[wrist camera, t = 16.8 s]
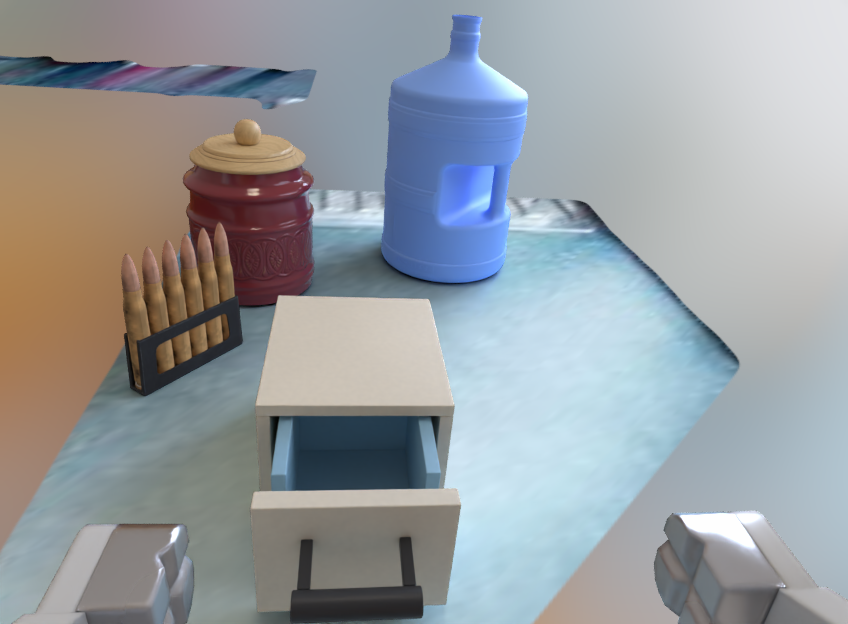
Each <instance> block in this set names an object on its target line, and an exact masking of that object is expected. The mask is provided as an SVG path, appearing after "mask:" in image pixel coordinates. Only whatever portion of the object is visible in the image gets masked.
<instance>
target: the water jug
mask: <svg viewBox="0 0 848 624" xmlns="http://www.w3.org/2000/svg"><path fill="white" fill-rule="evenodd" d="M452 19H453V30H452V31H451V45H450V51H449V53H448V55H447V56H446V57H445V58H443V59H440V60H438V61H436V62H433V63H432V64H429V65H426V66H424V67H422V68H419V69H417V70H415V71H412V72H410V73H408V74H405V75H403V76H401V77H399V78H397V79H395V80H394V81H393V82H392V85H391V96H390V99H389V111H388V120H389V135H388V153H387V168H386V172H385V209H384V228H383V234H382V243H381V250H382V254H383V256H384V258H385V259H386V261H387V262H388V263H389V264H390V265H391V266H393V267H394V268H396V269H397V270H399V271H401V272H403V273H405V274H407V275H410V276H413V277H416V278H419V279H424V280H428V281H434V282H443V283H464V282H472V281H477V280H481V279H484V278H487V277H489V276H491V275H493V274H495V273H496V272H497V271H498V270H499V269H500V268H501V267H502V266H503V264H504V261H505V255H506V240H507V234H508V227H509V221H510V210H509V208H508V207H507V205H506V204H505V203H506V196H507V189H508V183H509V176H510V169H511V165H512V163H513V162H514V160H516V159H517V158H518V157H519V155H520V149H521V143H522V136H523V134H524V130H525V126H526V120H527V104H528V95H527V93H526V92H525V91H524V90H523V89H521V88H520V87H518V86H517V85H516V84H514V83H513V82H511V81H510V80H508V79H507V78H505V77H504V76H502V75H501V74H499V73H498V72H496V71H495V70H493V69H492V68H491V67H489V66H487V65H486V64H485V63H483V62H482V61H481V60H480V59H479V56H478V44H479V40H480V33H479V29H480V23H481V22H482V17H477V16H468V15H452ZM493 173H494V175H493ZM492 180H493V183H492Z"/></svg>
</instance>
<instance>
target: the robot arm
mask: <svg viewBox="0 0 848 624" xmlns="http://www.w3.org/2000/svg"><path fill="white" fill-rule="evenodd" d="M664 532H665V534H666V535H667V537H668V540H667V541H666V542H665V543H664V544H663V545H662V546H660V547H659V548H658V550H657V554H656V558H655V561H654V570H655V581H656V584H657V588H658V591H659V594H660V596H661V598H662V600H663V602H664V604H665V606H666V607H668V608H669V609H670V610H671V611H673V612H674V613H675V614H677V615H678V616H679V620H678V624H848V600H847V599H845V598H844V597H842V596H840V595H839V594H837V593H836V592H834V591H833V590H831V589H829V588H828V587H818V586H817V584H816V583H815V582H814V580H813V579H812V578H811V577H810V575H809V574H808V573H807V571H806V570H805V569H804V568H803V566H802V565H801V563H800V562H799V561H798V560H797V558H796V557H795V556H794V554H793V553H792V552H791V550H790V549H789V548H788V547H787V545H786V544H785V543H784V541H783V540H782V539H781V537H780V536H779V535H778V534H777V532H776V531H775V529H774V528H773V527H772V526H771V524H770V523H769V522H768V520H767V519H766V518H765V517H764V516H763V515H762V514H761V513H759V512H757V511H733V512H700V513H672V514H671V515H670V517H669V518H668V519H667V521H666V524H665V527H664ZM188 543H189V537H188V532H187V527H186V526H185V525H183V524H119V525H118V524H87V525H85V526H84V527H83V528H82V529H81V530H80V531H79V532H78V533H77V535H76V537H75V539H74V541H73V543H72V545H71V546H70V548H69V550H68V552H67V554H66V556H65V558H64V559H63V561H62V563H61V565H60V567H59V569H58V571H57V573H56V574H55V576H54V578H53V580H52V582H51V584H50V586H49V587H48V589H47V591H46V593H45V595H44V597H43V599H42V601H41V602H40V604H39V606H38V608H37V610H36V612H35V614H24V615H22V616H21V617H20V618H18V619H17V620H16V621H14V622H13V623H12V624H186V623H187V620H188V617H189V613H190V609H191V605H192V598H193V591H194V569H193V562H192V560H191V559H190V558H188V557H187V556H186V555H185V553H186V550H187V547H188Z"/></svg>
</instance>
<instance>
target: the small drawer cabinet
mask: <svg viewBox="0 0 848 624" xmlns="http://www.w3.org/2000/svg"><path fill="white" fill-rule="evenodd" d="M454 407H455V406H454V401H453V397H452V393H451V389H450V384H449V380H448V376H447V372H446V368H445V363H444V359H443V355H442V351H441V346H440V342H439V338H438V334H437V330H436V325H435V321H434V317H433V313H432V308H431V304H430V300H429V299H406V298H364V297H323V296H281V295H279V296H278V299H277V303H276V308H275V313H274V318H273V323H272V327H271V332H270V337H269V342H268V346H267V351H266V356H265V361H264V365H263V370H262V375H261V380H260V385H259V389H258V394H257V399H256V404H255V413H256V430H257V447H258V464H259V481H260V491H271V470H272V463H273V456H274V450H275V443H276V436H277V430H278V423H279V417H280V416H431V421H432V426H433V432H434V438H435V443H436V449H437V454H438V460H439V466H440V471H441V476H440V484H439V489H444V483H445V476H446V468H447V460H448V453H449V445H450V437H451V430H452V422H453V415H454Z"/></svg>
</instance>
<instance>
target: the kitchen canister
mask: <svg viewBox="0 0 848 624" xmlns="http://www.w3.org/2000/svg"><path fill="white" fill-rule="evenodd" d="M305 159H306V157H305V154H304V153H303V152H302V151H300V150H299V149H297V148H296V147H294V146H292V145H291V143H290V142H289V141H287V140H285V139H283V138H280V137H276V136H271V135H264V134H261V130H260V127H259V125H258V124H257V123H256V122H255V121H253V120H249V119H244V120H240V121H239V122H237V124H236V125H235V128H234V134H224V135H218V136H214V137H211V138H209V139H207V140H206V141H204V143H203V144H202V145H200V146H198V147H197V148H195V149H194V150H192V151H191V153H190V160H191V161H192V162H193V163H194V164H195V165H194V167H193V168H191V169H190V170H188V171H187V172H186V173H185V175H184V177H183V183H184V185H185V186H186V187H187V189H189V190H190V203H189V205H188V206H187V210H186V213H187V216H188V217H189V225H190V234H191V243H192V246H193V249H194V253H195V257H196V265H197V270H198V238H199V234H200V231H201V229H202V228H204V229H205V231H206V232H207V234H208V237H209V240H210V243H211V247H212V253H213V260H214V236H215V230H216V226H217V224H218V223H221V224H222V226H223V228H224V231H225V233H226V237H227V242H228V249H229V255H230V262H231V266H232V269H233V281H234V294H235V295H237V296H238V301H239V305H266V304H273V303H277V299H278V296H279V295H281V296H298V295H299V294H301V293H303V292H304V291H305V290H306V289H307V288H308V287H309V286H310V284H311V281H312V275H313V273H314V258H313V255H312V216H313V214H314V208H313V206H312V204H311V203H310V202H309V189H310V188H311V187H312V186H313V184H314V178H313V176H312V175H311V174H310V173H309V172H308V171H307V170H306V169H304V168H302V164H303V163H304V162H305Z"/></svg>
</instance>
